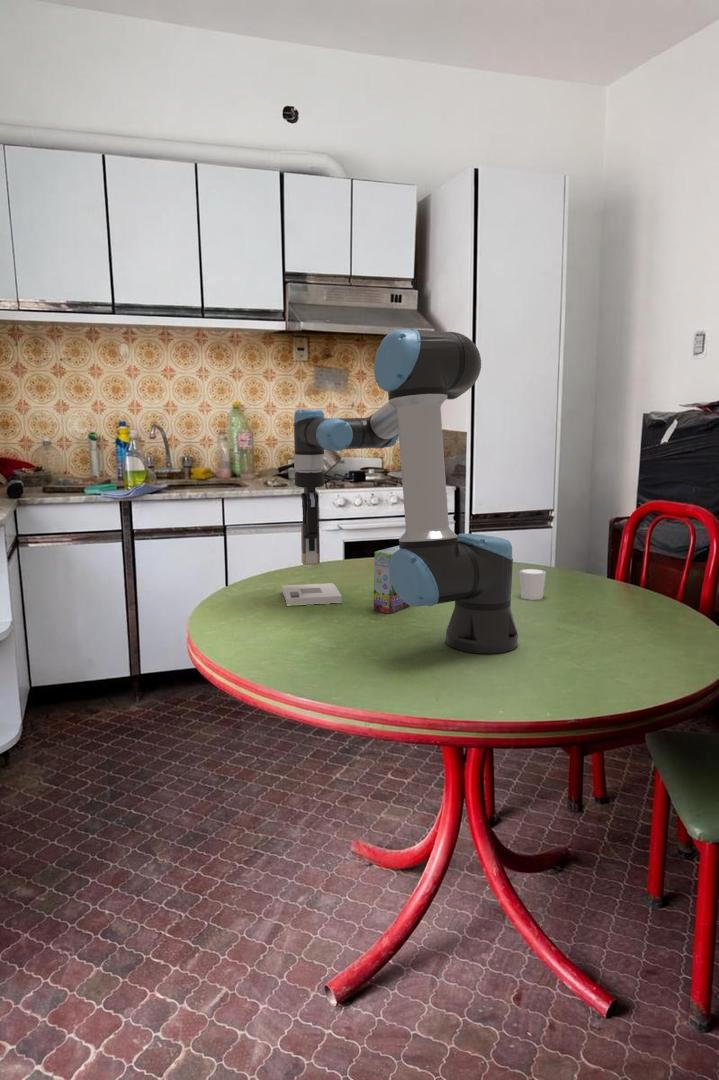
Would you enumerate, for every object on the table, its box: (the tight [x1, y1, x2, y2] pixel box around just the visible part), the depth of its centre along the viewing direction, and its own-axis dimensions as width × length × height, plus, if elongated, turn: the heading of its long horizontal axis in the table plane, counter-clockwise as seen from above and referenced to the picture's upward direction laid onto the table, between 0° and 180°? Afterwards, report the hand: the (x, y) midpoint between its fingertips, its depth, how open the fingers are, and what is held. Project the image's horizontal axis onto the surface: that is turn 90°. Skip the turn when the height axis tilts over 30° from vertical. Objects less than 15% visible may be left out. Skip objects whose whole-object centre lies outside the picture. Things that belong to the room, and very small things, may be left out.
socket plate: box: [281, 582, 343, 605], centre depth 198 cm, size 14×14×3 cm
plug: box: [300, 523, 320, 566], centre depth 196 cm, size 4×4×10 cm
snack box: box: [372, 545, 411, 615], centre depth 191 cm, size 21×6×15 cm, turn 143°
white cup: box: [519, 568, 547, 601], centre depth 198 cm, size 7×7×7 cm
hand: (310, 560), depth 197 cm, fingers closed on plug, 4 cm apart
